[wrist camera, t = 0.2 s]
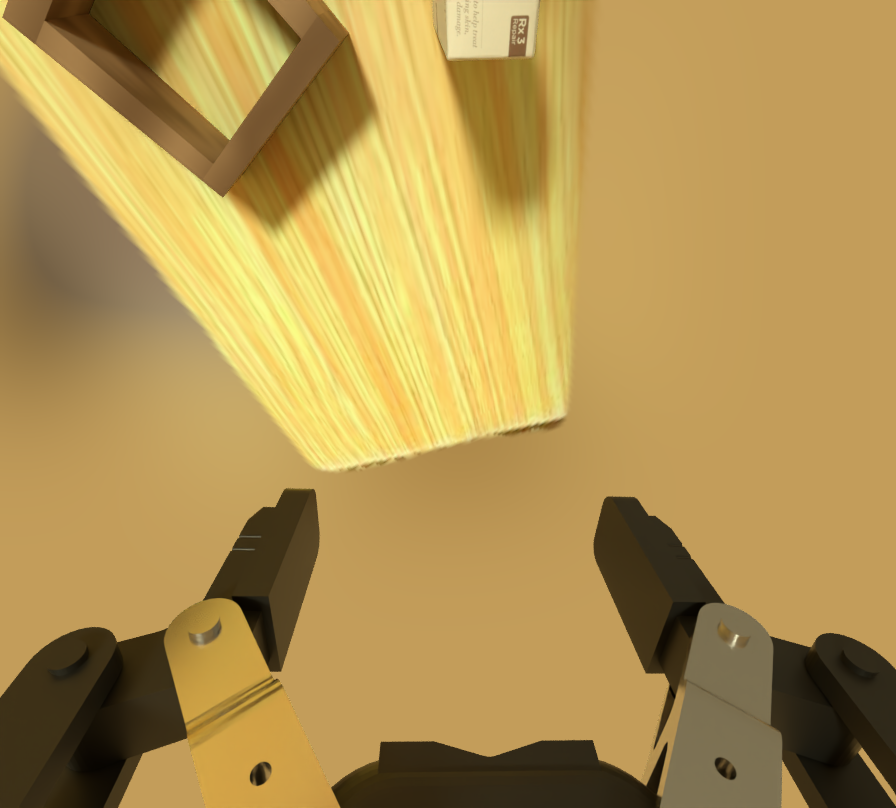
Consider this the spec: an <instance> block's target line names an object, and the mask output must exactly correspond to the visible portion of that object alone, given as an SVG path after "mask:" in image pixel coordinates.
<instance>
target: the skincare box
mask: <svg viewBox="0 0 896 808" xmlns="http://www.w3.org/2000/svg"><path fill="white" fill-rule="evenodd" d="M539 7H540V0H432V12H433V25H434V28H435V31H436V33H437V36H438V39H439V41H440V44H441V46H442V48H443V50H444V52H445V55H446V58H447V60H448V61H465V60H495V59H531V58H533V57H534V55H535V47H536V37H537V27H538V17H539Z"/></svg>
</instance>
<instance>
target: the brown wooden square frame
mask: <svg viewBox="0 0 896 808" xmlns="http://www.w3.org/2000/svg"><path fill="white" fill-rule="evenodd" d="M268 2H269V3H270V4H271V5H272V6H273V7H274V8H275V10H276V11H277V12H278V13H279V14H280V15H281V16H282V18H283V19H284V20H285V21H286V22H287V23H288V24H289V25H290V27H291V28H292V29H293V30H294V31H295V32H296V33H297V35H298V36H299V37H300V38H301V40H300V42H299V43H298V45H297V46H296V47H295V49H294V50H293V52H292V53H291V55H290V56H289V57H288V59H287V60H286V62H285V63H284V64H283V66H282V67H281V69H280V70H279V72H278V73H277V74H276V76H275V77H274V79H273V80H272V82H271V83H270V84H269V86H268V87H267V89H266V90H265V91H264V93H263V94H262V96H261V97H260V99H259V100H258V101H257V103H256V104H255V106H254V107H253V109H252V110H251V111H250V113H249V114H248V116H247V117H246V118H245V120H244V121H243V123H242V124H241V126H240V127H239V128H238V130H237V131H236V133H235V134H234V136H233V137H232V138H231V140H229V139H227V138H226V137H225V136H224V135H223V134H222V133H221V132H220V131H219V130H217V129H216V128H215V127H214V126H213V125H212V124H211V123H210V122H209V121H207V120H206V119H205V118H204V117H203V116H202V115H201V114H200V113H199V112H197V111H196V110H195V109H194V108H193V107H192V106H191V105H190V104H188V103H187V102H186V101H185V100H184V99H183V98H182V97H181V96H180V95H178V94H177V93H176V92H175V91H174V90H173V89H172V88H171V87H170V86H168V85H167V84H166V83H165V82H164V81H163V80H162V79H161V78H160V77H158V76H157V75H156V74H155V73H154V72H153V71H152V70H151V69H150V68H148V67H147V66H146V65H145V64H144V63H143V62H142V61H141V60H140V59H138V58H137V57H136V56H135V55H134V54H133V53H132V52H131V51H130V50H128V49H127V48H126V47H125V46H124V45H123V44H122V43H121V42H120V41H118V40H117V39H116V38H115V37H114V36H113V35H112V34H111V33H110V32H108V31H107V30H106V29H105V28H104V27H103V26H102V25H101V24H100V23H98V22H97V21H96V20H95V19H94V18H93V17H92V16H91V15H90V14H89V12H90V9H91V7H92V5H93V3H94V0H8V3H7V5H6V8H5V11H4V14H3V17H2V18H4V19H5V20H6V21H7V22H9V23H10V24H11V25H12V26H13V27H15V28H16V29H17V30H18V31H20V32H21V33H22V34H23V35H24V36H26V37H27V38H28V39H29V40H31V41H32V42H33V43H34V44H36V45H37V46H38V47H39V48H40V49H42V50H43V51H44V52H45V53H47V54H48V55H49V56H50V57H51V58H53V59H54V60H55V61H56V62H58V63H59V64H60V65H61V66H62V67H64V68H65V69H66V70H67V71H69V72H70V73H71V74H72V75H73V76H75V77H76V78H77V79H78V80H80V81H81V82H82V83H83V84H84V85H86V86H87V87H88V88H89V89H91V90H92V91H93V92H94V93H96V94H97V95H98V96H99V97H100V98H102V99H103V100H104V101H105V102H107V103H108V104H109V105H110V106H111V107H113V108H114V109H115V110H116V111H118V112H119V113H120V114H121V115H122V116H124V117H125V118H126V119H127V120H129V121H130V122H131V123H132V124H133V125H135V126H136V127H137V128H138V129H140V130H141V131H142V132H143V133H145V134H146V135H147V136H148V137H149V138H151V139H152V140H153V141H154V142H156V143H157V144H158V145H159V146H160V147H162V148H163V149H164V150H165V151H167V152H168V153H169V154H170V155H171V156H173V157H174V158H175V159H176V160H178V161H179V162H180V163H181V164H182V165H184V166H185V167H186V168H187V169H189V170H190V171H191V172H192V173H193V174H195V175H196V176H197V177H198V178H200V179H201V180H202V181H203V182H205V183H206V184H207V185H208V186H209V187H211V188H212V189H213V190H214V191H216V192H217V193H218V194H219V195H220V196H222V197H224V196H225V194H226V193H227V192H228V191H229V190H230V188H231V187H232V186H233V185H234V184H235V182H236V181H237V180H238V179H239V178H240V177H241V175H242V174H243V173H244V171H245V170H246V169H247V167H248V166H249V165H250V163H251V162H252V161H253V159H254V158H255V157H256V155H257V154H258V153H259V152H260V150H261V149H262V148H263V146H264V145H265V144H266V142H267V141H268V140H269V138H270V137H271V136H272V134H273V133H274V132H275V130H276V129H277V128H278V126H279V125H280V124H281V122H282V121H283V120H284V118H285V117H286V116H287V114H288V113H289V112H290V110H291V109H292V108H293V106H294V105H295V104H296V102H297V101H298V100H299V98H300V97H301V96H302V94H303V93H304V92H305V90H306V89H307V88H308V87H309V85H310V84H311V83H312V81H313V80H314V79H315V77H316V76H317V75H318V73H319V72H320V71H321V69H322V68H323V67H324V65H325V64H326V63H327V61H328V60H329V59H330V57H331V56H332V55H333V53H334V52H335V51H336V49H337V48H338V47H339V45H340V44H341V43H342V41H343V40H344V39H345V37H346V36H347V35H348V33H349V32H348V31H347V30H346V29H345V28H344V26H343V25H342V24H341V23H340V21H339V20H338V19H337V18H336V16H335V15H334V14H333V13H332V11H331V10H330V9H329V8H328V7H327V5H326V4H325V3H324V2H323V0H268Z"/></svg>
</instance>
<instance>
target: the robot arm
mask: <svg viewBox="0 0 896 808" xmlns="http://www.w3.org/2000/svg"><path fill="white" fill-rule="evenodd" d="M318 548H319V524H318V512H317V502H316V493H315V490H314V489H289V488H288V489H287V488H286V489H285V490H284V491H283V493H282V495H281V497H280V499H279V501H278V503H277V505H276V507H263V508H262V509H261V510H259V511H258V512H257V513H256V514H254V515H253V516H252V517H251V518H250V519H249V520H248V521H247V523H246V525H245V526H244V528H243V530H242V531H241V533H240V535H239V538H238V539H237V541H236V542H235V544H234V546H233V549H232V551H230V553H229V555H228V557H227V558H226V560H225V562H224V564H223V566H222V567H221V569H220V571H219V573H218V575H217V576H216V578H215V580H214V582H213V584H212V585H211V587H210V589H209V591H208V593H207V594H206V596H205V598H204V599H203V601H201V602H199V603H196V604H194V605H192V606H190V607H189V608H187V609H186V610H184V611H183V612H182V613H180V614H179V615H178V616H177V617H176V618H175V619H174V620H173V621H172V623H171V624H170V625H169V627H168V628H167V629H165V630H162V631H159V632H155V633H152V634H148V635H144V636H140V637H136V638H133V639H129V640H124V641H121V642H117V641H116V638H115V636H114V635H113V633H112V632H110V631H109V630H107V629H105V628H100V627H90V628H84V629H79V630H76V631H73V632H70V633H68V634H66V635H63V636H61V637H60V638H58V639H56V640H54V641H53V642H51V643H49V644H48V645H46V646H45V647H44V648H43V649H41V650H40V651H39V652H38V653H37V654H36V655H34V656H33V658H32V659H31V660H30V661H29V662H28V663H27V664H26V666H25V667H24V668H23V670H22V671H21V672H20V673H19V675H18V676H17V677H16V678H15V680H14V681H13V682H12V683H11V685H10V686H9V687H8V689H7V690H6V691H5V692H4V694H3V695H2V696H1V698H0V808H118V806H119V804H120V802H121V800H122V798H123V796H124V793H125V791H126V789H127V787H128V785H129V782H130V780H131V778H132V776H133V773H134V771H135V769H136V767H137V765H138V763H139V761H140V758H141V756H142V754H143V753H145V752H148V751H151V750H154V749H157V748H160V747H163V746H166V745H169V744H171V743H175V742H178V741H180V740H183V739H186V738H188V743H189V746H190V751H191V754H192V758H193V762H194V766H195V770H196V773H197V777H198V781H199V785H200V789H201V792H202V796H203V800H204V804H205V808H781V793H782V792H781V791H782V760H783V762H784V764H785V766H786V767H787V769H788V771H789V773H790V775H791V776H792V778H793V780H794V782H795V783H796V785H797V787H798V788H799V790H800V792H801V794H802V796H803V798H804V799H805V801H806V803H807V805H808V806H809V808H896V806H895V804H894V803H893V802H892V800H891V799H890V797H889V796H888V795H887V793H886V792H885V790H884V789H883V787H882V786H881V785H880V783H879V782H878V781H877V779H876V778H875V776H874V775H873V773H872V772H871V770H870V769H869V768H868V766H867V765H866V763H865V762H864V761H863V759H862V758H861V757H860V755H859V754H858V752H859V751H860V749H861V748H863V749H864V751H865V752H866V753H867V755H868V756H869V757H870V759H871V760H872V762H873V763H874V764H875V766H876V767H877V769H878V770H879V771H880V773H881V774H882V775H883V777H884V778H885V780H886V781H887V782H888V784H889V785H890V786H891V788H892V789H893V791H894V792H895V794H896V669H895V668H894V667H893V666H892V665H891V664H890V663H889V662H888V661H887V660H886V659H884V658H883V657H882V656H881V655H880V654H878V653H877V652H876V651H874V650H873V649H871V648H870V647H868V646H866V645H865V644H862V643H861V642H859V641H857V640H855V639H852V638H850V637H847V636H844V635H840V634H834V633H826V634H822V635H820V636H819V637H818V638H817V639H816V640H815V642H814V644H813V645H812V647H807V646H803V645H800V644H796V643H792V642H789V641H785V640H781V639H778V638H774V637H771V636H769V634H768V632H767V631H766V630H765V628H764V627H763V626H762V625H761V624H760V623H759V622H758V621H757V620H755V619H754V618H753V617H752V616H750V615H749V614H747V613H745V612H744V611H742V610H740V609H738V608H736V607H733V606H730V605H727V604H725V603H724V602H723V601H722V599H721V598H720V596H719V595H718V594H717V592H716V591H715V589H714V588H713V587H712V585H711V584H710V582H709V581H708V580H707V578H706V577H705V575H704V574H703V572H702V571H701V570H700V568H699V567H698V565H697V564H696V563H695V561H694V560H693V559H691V556H690V554H689V553H688V552H687V550H686V549H685V547H682V543H681V542H680V540H679V539H678V537H677V536H676V535H675V533H674V532H673V530H672V529H671V528H670V527H668V526H667V525H666V524H664V523H663V522H662V521H661V520H660V519H658V518H657V517H656V516H648V514H647V513H646V511H645V510H644V508H643V507H642V506H641V504H640V502H639V501H638V500H637V499H636V498H635V497H606V498H605V500H604V502H603V505H602V509H601V513H600V517H599V521H598V525H597V529H596V533H595V537H594V555H595V559H596V562H597V565H598V567H599V569H600V571H601V574H602V576H603V578H604V580H605V583H606V585H607V587H608V589H609V592H610V594H611V596H612V598H613V600H614V603H615V605H616V607H617V609H618V612H619V614H620V616H621V618H622V620H623V623H624V625H625V627H626V630H627V632H628V634H629V636H630V638H631V641H632V643H633V645H634V648H635V650H636V652H637V654H638V656H639V659H640V661H641V663H642V665H643V668H644V670H645V672H646V673H665V675H666V678H667V680H668V682H669V685H668V687H667V690H666V693H665V696H664V700H663V704H662V708H661V712H660V715H659V719H658V723H657V727H656V731H655V735H654V738H653V742H652V746H651V750H650V754H649V757H648V761H647V764H646V768H645V771H644V774H643V776H642V779H641V782H640V781H638V780H637V779H636V778H634V777H633V776H632V775H630V774H628V773H626V772H625V771H623V770H621V769H619V768H617V767H615V766H613V765H611V764H608V763H606V762H604V761H600V760H598V757H597V753H596V750H595V746H594V743H593V740H568V741H539V742H536V743H533V744H530V745H527V746H524V747H521V748H518V749H515V750H512V751H509V752H506V753H503V754H500V755H497V756H493V757H486V756H482V755H479V754H475V753H471V752H468V751H464V750H461V749H458V748H455V747H451V746H448V745H444V744H441V743H437V742H434V741H432V742H381V745H380V756H379V760H378V761H376V762H372V763H369V764H367V765H365V766H363V767H361V768H358V769H357V770H355V771H353V772H351V773H350V774H348V775H347V776H345V777H344V778H342V779H341V780H340V781H339V782H337V783H336V784H335V785H334V786H332V787H330V785H329V783H328V781H327V778H326V776H325V774H324V772H323V770H322V768H321V766H320V764H319V761H318V759H317V757H316V755H315V753H314V751H313V749H312V747H311V745H310V743H309V740H308V738H307V736H306V734H305V732H304V730H303V728H302V726H301V723H300V721H299V719H298V717H297V715H296V713H295V711H294V709H293V706H292V705H291V702H290V700H289V698H288V696H287V694H286V692H285V690H284V688H283V686H282V684H281V682H280V681H279V680H278V679H276V680H274V679H273V677H272V675H271V673H270V672H271V671H272V672H273V671H274V672H278V671H281V670H282V667H283V664H284V660H285V657H286V654H287V651H288V648H289V644H290V641H291V638H292V635H293V631H294V628H295V625H296V622H297V619H298V616H299V612H300V609H301V606H302V603H303V600H304V596H305V593H306V590H307V587H308V584H309V580H310V577H311V574H312V571H313V568H314V565H315V561H316V558H317V554H318Z"/></svg>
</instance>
